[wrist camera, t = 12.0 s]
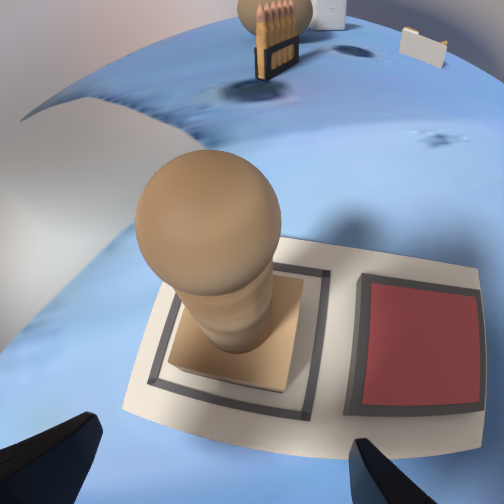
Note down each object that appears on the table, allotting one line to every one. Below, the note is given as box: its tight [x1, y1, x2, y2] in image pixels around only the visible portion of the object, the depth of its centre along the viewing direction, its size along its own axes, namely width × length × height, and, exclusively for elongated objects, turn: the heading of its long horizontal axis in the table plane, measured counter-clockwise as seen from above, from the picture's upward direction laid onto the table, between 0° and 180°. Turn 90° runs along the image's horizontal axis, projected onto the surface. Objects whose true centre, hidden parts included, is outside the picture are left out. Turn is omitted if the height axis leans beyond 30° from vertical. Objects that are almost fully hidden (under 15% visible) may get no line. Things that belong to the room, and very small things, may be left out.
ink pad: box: [343, 273, 486, 417], centre depth 14 cm, size 9×8×1 cm
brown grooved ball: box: [237, 0, 313, 36], centre depth 42 cm, size 15×15×15 cm
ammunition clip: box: [254, 0, 299, 81], centre depth 33 cm, size 11×2×12 cm, turn 147°
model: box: [399, 27, 447, 69], centre depth 43 cm, size 3×11×8 cm, turn 60°
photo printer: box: [309, 0, 346, 31], centre depth 50 cm, size 10×4×12 cm, turn 114°
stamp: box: [135, 150, 304, 393], centre depth 11 cm, size 6×6×12 cm
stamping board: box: [122, 237, 487, 460], centre depth 16 cm, size 22×13×2 cm, turn 78°
